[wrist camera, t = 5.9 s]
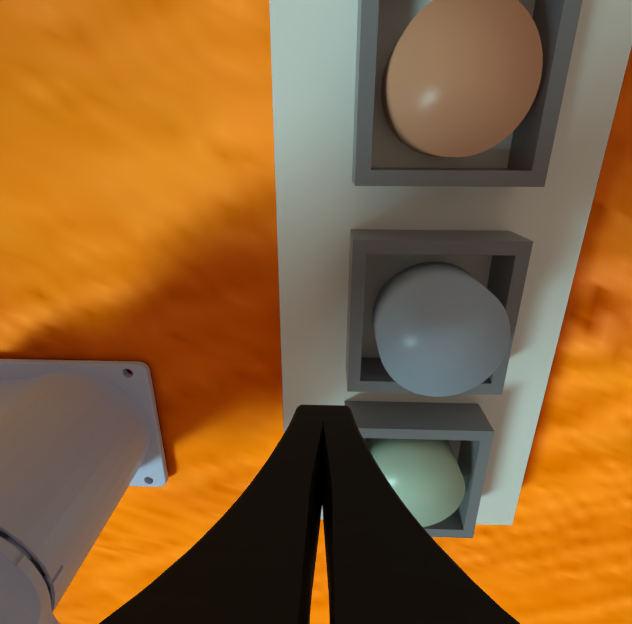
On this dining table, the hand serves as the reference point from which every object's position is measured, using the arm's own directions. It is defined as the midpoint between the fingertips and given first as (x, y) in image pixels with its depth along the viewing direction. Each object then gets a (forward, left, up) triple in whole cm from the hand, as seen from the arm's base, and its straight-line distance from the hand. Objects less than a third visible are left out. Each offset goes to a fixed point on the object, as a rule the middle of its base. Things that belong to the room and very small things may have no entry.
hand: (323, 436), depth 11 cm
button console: (+4, +1, -9) cm, 10 cm away
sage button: (+4, -7, -7) cm, 11 cm away
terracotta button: (+4, +9, -7) cm, 12 cm away
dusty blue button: (+4, +1, -6) cm, 7 cm away
